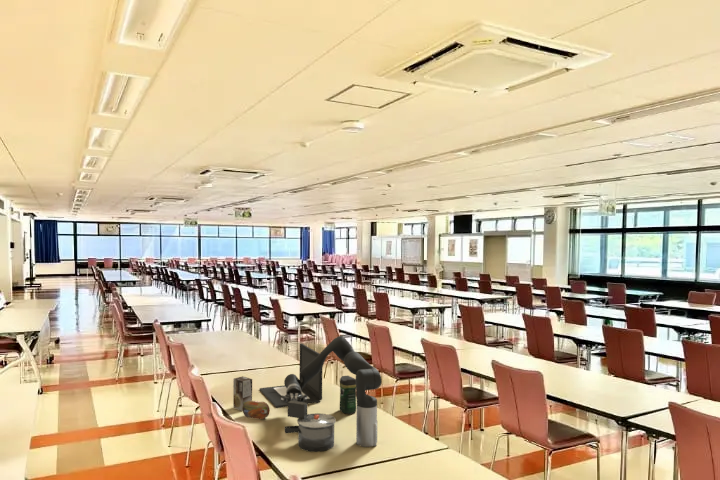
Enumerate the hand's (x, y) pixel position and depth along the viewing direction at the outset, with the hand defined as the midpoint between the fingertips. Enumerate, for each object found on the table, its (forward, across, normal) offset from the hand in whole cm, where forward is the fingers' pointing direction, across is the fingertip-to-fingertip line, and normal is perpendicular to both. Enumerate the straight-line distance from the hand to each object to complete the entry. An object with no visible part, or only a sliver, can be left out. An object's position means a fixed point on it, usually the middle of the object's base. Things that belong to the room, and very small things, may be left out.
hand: (294, 403), depth 240 cm
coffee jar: (-35, -29, -16) cm, 48 cm away
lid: (+8, -8, -5) cm, 12 cm away
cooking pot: (+9, -7, -16) cm, 20 cm away
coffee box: (-45, +27, -16) cm, 55 cm away
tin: (-30, +19, -16) cm, 39 cm away
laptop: (-66, +2, -16) cm, 68 cm away
